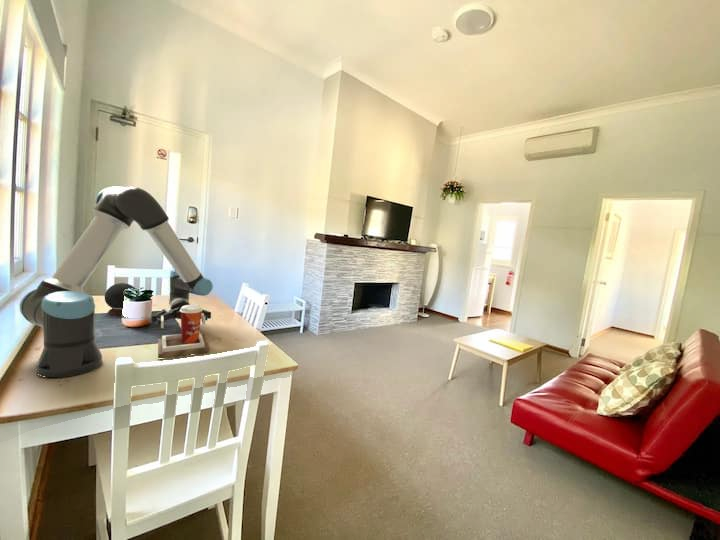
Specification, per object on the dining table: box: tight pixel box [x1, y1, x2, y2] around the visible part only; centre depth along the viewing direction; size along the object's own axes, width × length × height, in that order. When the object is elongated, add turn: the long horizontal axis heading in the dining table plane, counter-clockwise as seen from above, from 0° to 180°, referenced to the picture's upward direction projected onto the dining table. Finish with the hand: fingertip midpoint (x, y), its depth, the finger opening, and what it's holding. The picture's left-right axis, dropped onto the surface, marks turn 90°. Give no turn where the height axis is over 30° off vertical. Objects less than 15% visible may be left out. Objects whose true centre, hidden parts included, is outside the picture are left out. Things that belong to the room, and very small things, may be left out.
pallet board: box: [157, 331, 210, 359], centre depth 118 cm, size 16×16×4 cm
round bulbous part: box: [104, 282, 136, 317], centre depth 152 cm, size 13×13×15 cm
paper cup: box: [180, 304, 203, 344], centre depth 119 cm, size 8×8×14 cm
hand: (184, 322), depth 114 cm, fingers open, 13 cm apart
